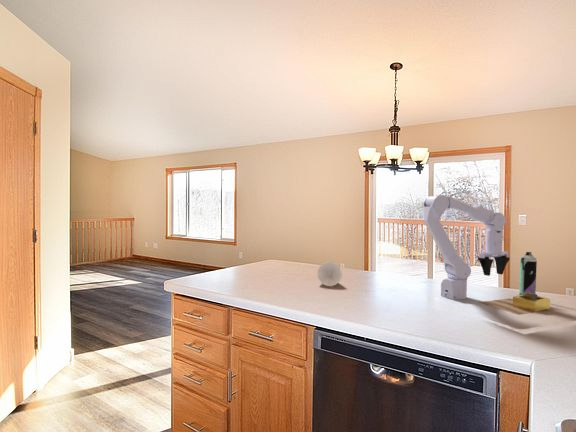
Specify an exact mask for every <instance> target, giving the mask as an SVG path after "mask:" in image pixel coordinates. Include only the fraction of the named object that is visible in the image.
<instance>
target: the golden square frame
mask: <svg viewBox="0 0 576 432" xmlns="http://www.w3.org/2000/svg"><path fill="white" fill-rule="evenodd" d="M512 299H513V306H516V307H519V308H523V309H526V310H530V311H534V313H538V312H537V311H541V310H545V309H551V303H550V302H551V299H550V298H548V297H545V296H540V295H537V300H535V301H533V300H531V294H528V293H527V294H522V295H519V294H518V295H514V296H512ZM541 312H542V311H541Z"/></svg>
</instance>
